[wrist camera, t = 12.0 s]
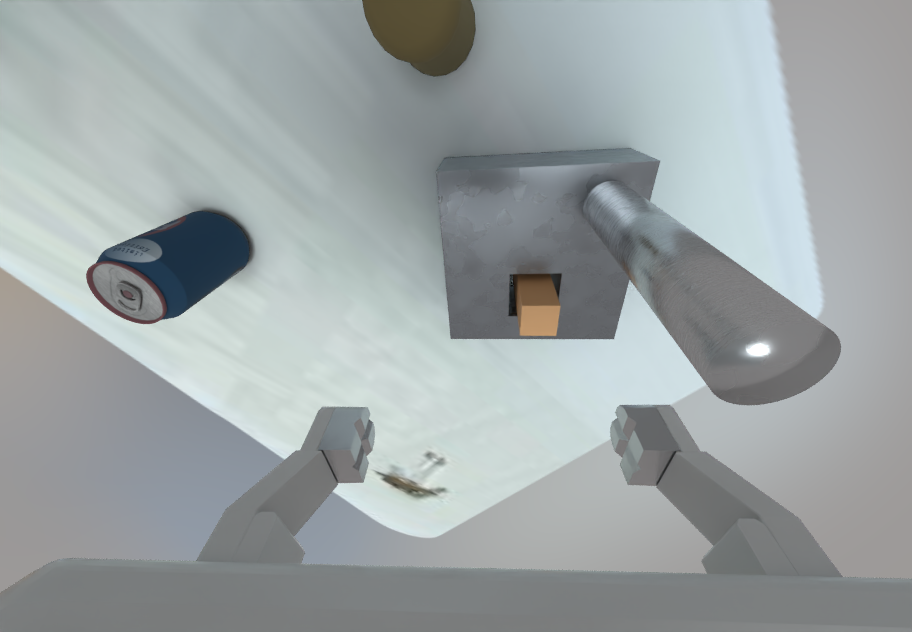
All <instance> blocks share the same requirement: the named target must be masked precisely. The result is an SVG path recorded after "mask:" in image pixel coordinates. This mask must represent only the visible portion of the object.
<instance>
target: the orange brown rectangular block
mask: <svg viewBox="0 0 912 632" xmlns="http://www.w3.org/2000/svg"><path fill="white" fill-rule="evenodd" d="M513 285H514V293H515V301H516V309H517V316H518V324H519V332H520V336H556V334H557V327H558V320H559V313H560V306H561V305H560V302H559V299H558V296H557V293H556V290H555V287H554V284H553V281H552V278H551V275H550V274H513Z"/></svg>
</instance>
